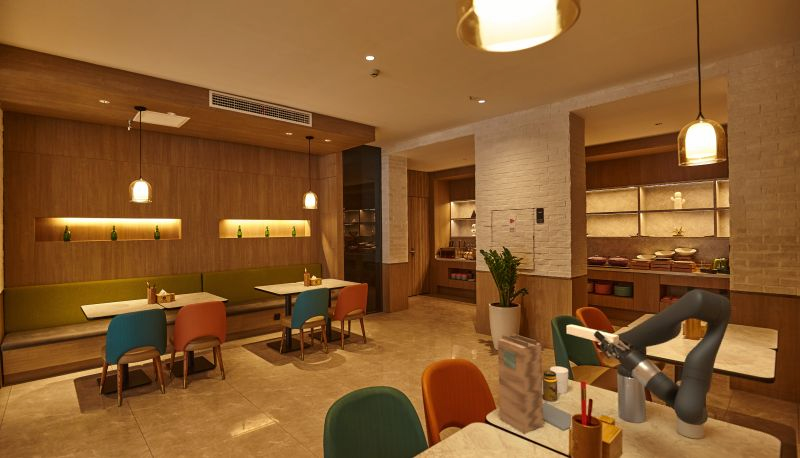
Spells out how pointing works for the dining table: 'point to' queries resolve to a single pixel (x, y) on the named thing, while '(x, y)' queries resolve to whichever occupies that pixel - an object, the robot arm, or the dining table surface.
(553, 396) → the condiment
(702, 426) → the travel mug
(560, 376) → the white cup
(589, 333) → the ivory plug peg
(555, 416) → the slate board
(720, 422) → the dining table surface
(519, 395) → the walnut tower
